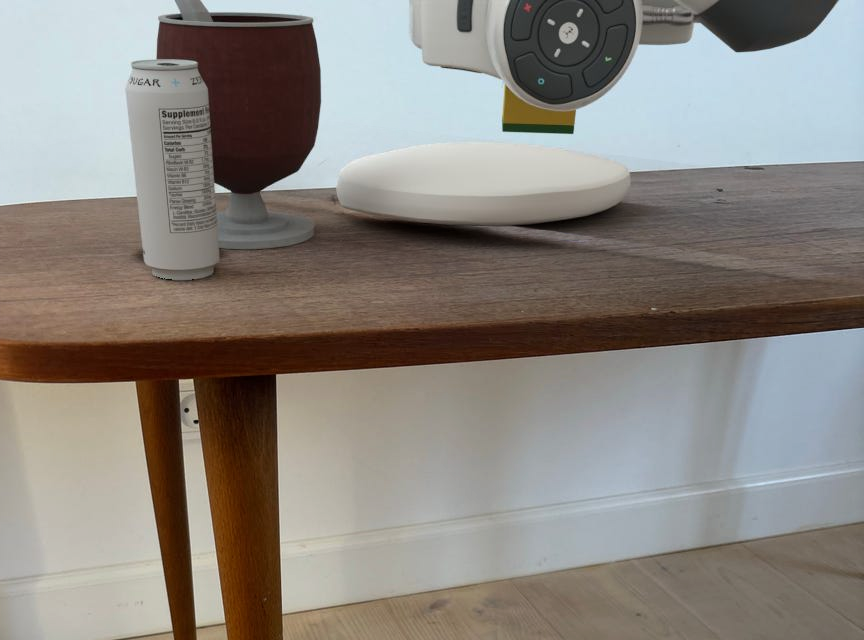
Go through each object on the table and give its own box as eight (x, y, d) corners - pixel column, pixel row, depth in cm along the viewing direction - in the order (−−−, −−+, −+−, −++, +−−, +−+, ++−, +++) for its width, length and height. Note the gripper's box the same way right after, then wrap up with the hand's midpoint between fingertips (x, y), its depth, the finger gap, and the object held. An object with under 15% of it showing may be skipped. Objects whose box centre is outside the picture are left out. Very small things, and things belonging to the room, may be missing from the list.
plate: (285, 171, 96) (403, 133, 117) (294, 245, 100) (407, 196, 120) (584, 164, 85) (657, 123, 106) (583, 248, 89) (653, 193, 109)
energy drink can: (192, 258, 89) (175, 56, 81) (235, 273, 85) (222, 63, 77) (131, 270, 86) (106, 61, 77) (172, 286, 82) (151, 68, 74)
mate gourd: (352, 229, 99) (352, -23, 87) (257, 260, 89) (243, -19, 78) (227, 206, 106) (212, -29, 94) (126, 232, 96) (96, -27, 85)
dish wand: (569, 123, 86) (594, -118, 77) (573, 134, 81) (600, -121, 72) (501, 121, 86) (519, -119, 77) (502, 131, 82) (520, -123, 73)
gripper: (727, -41, 66) (693, -45, 77) (402, -48, 67) (416, -50, 79) (708, 72, 69) (678, 53, 81) (399, 64, 71) (413, 46, 82)
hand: (546, 2), depth 80 cm, fingers closed on dish wand, 3 cm apart
